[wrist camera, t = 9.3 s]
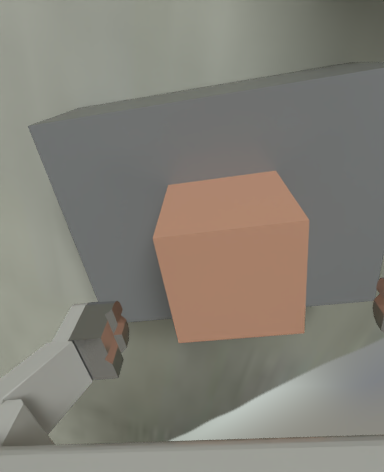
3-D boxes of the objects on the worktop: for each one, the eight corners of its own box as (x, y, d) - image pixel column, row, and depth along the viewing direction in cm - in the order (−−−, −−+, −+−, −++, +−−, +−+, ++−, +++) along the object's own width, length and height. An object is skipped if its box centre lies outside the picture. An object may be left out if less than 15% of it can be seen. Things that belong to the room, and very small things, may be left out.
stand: (352, 62, 17) (420, 61, 11) (334, 245, 22) (374, 300, 17) (77, 108, 18) (27, 125, 13) (128, 267, 24) (107, 324, 19)
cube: (275, 170, 14) (309, 220, 9) (277, 260, 16) (304, 333, 12) (168, 185, 14) (152, 238, 10) (185, 270, 17) (178, 343, 12)
